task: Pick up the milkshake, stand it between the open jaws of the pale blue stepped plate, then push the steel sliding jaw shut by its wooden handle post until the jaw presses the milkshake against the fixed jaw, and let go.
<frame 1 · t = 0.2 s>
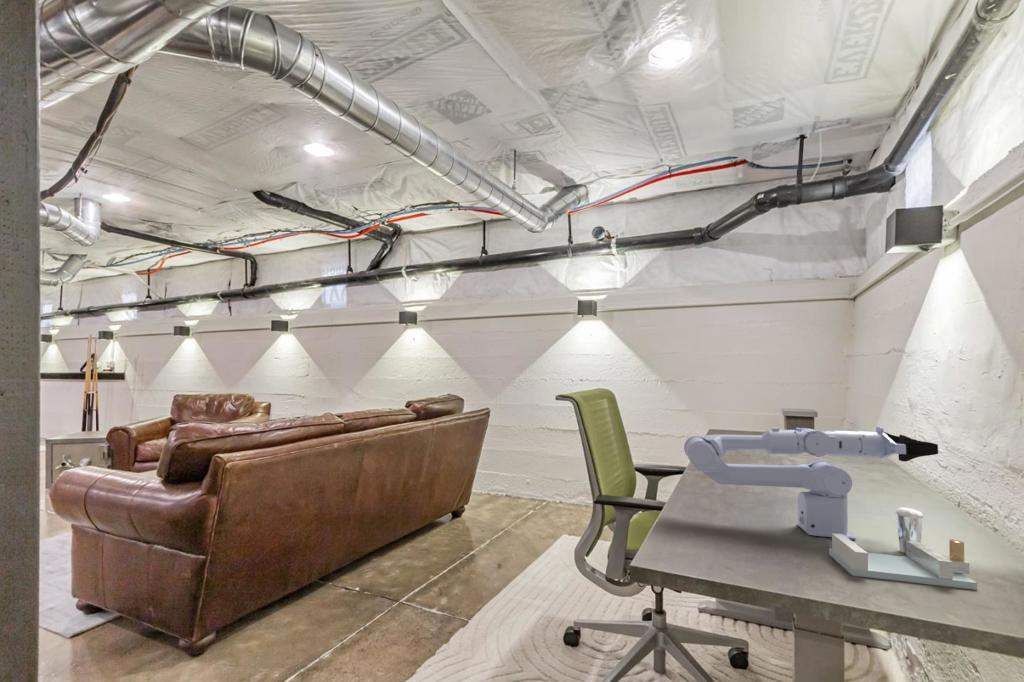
hand: (926, 446, 106), 21 cm above the table, tool horizontal, fingers open, 7 cm apart
milkshake: (912, 554, 98), on the table
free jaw: (942, 554, 88), point 4 cm above the table, slide at 0.0 cm
pale blue stepped plate: (897, 570, 89), on the table
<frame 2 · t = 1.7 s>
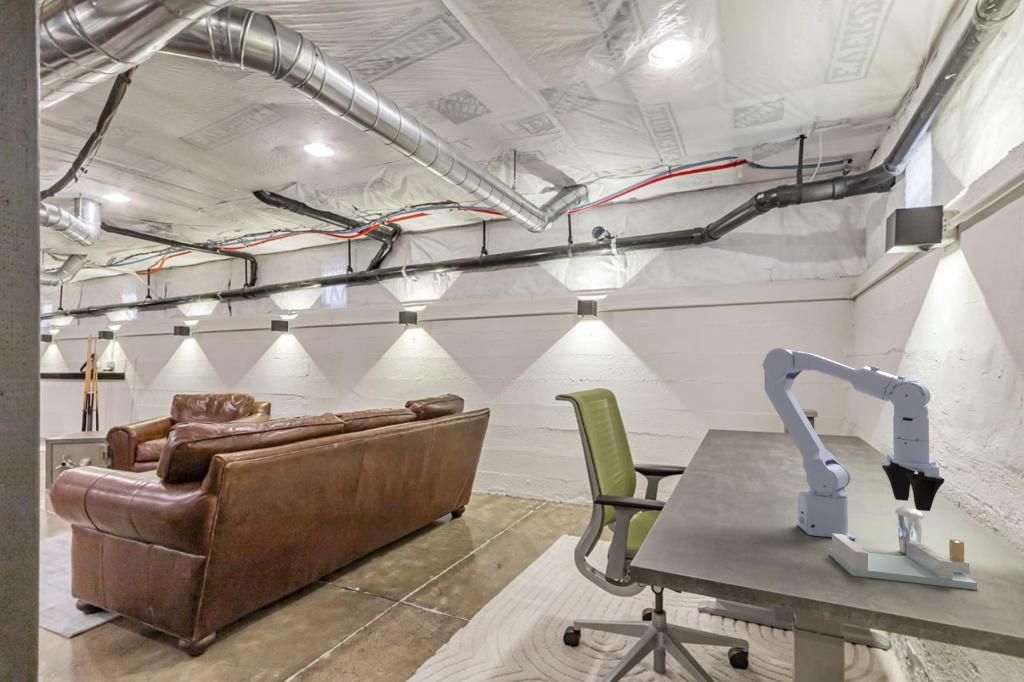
hand: (911, 504, 99), 10 cm above the table, tool pointing down, fingers open, 7 cm apart
nothing on the table moved.
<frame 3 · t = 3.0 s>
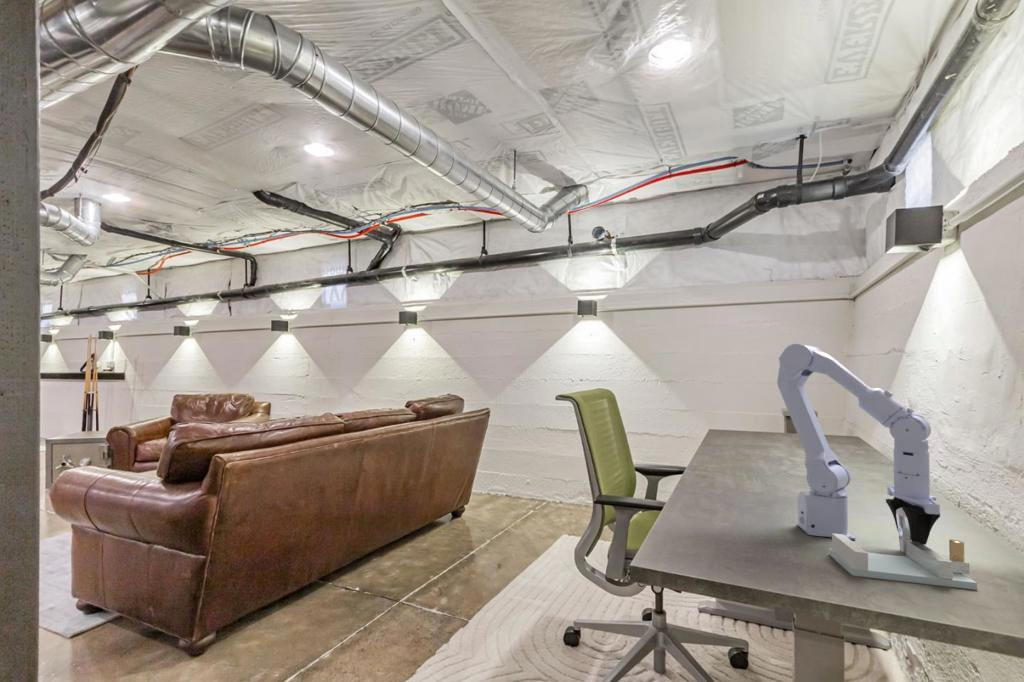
hand: (912, 539, 98), 3 cm above the table, tool pointing down, fingers closed on milkshake, 4 cm apart
milkshake: (912, 554, 98), on the table, touching gripper
everything else where it was.
when the fingers open (6 cm above the table, at t = 6.5 s): milkshake stays where it is, resting on pale blue stepped plate.
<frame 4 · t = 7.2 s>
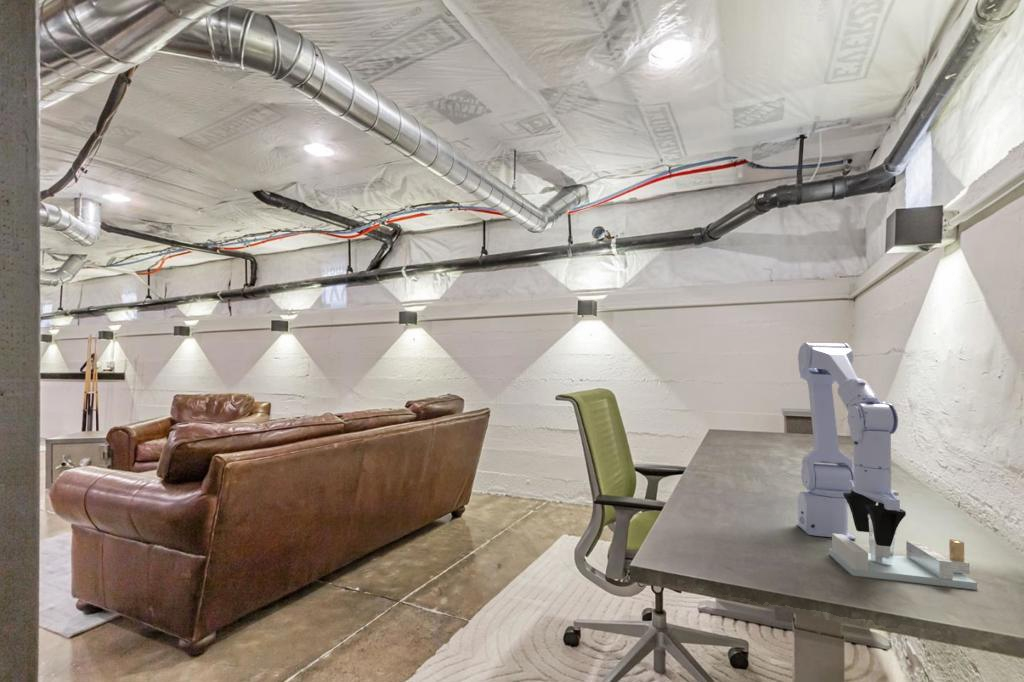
hand: (872, 538, 90), 6 cm above the table, tool pointing down, fingers open, 7 cm apart
milkshake: (883, 563, 90), point 1 cm above the table, touching pale blue stepped plate
everything else where it was.
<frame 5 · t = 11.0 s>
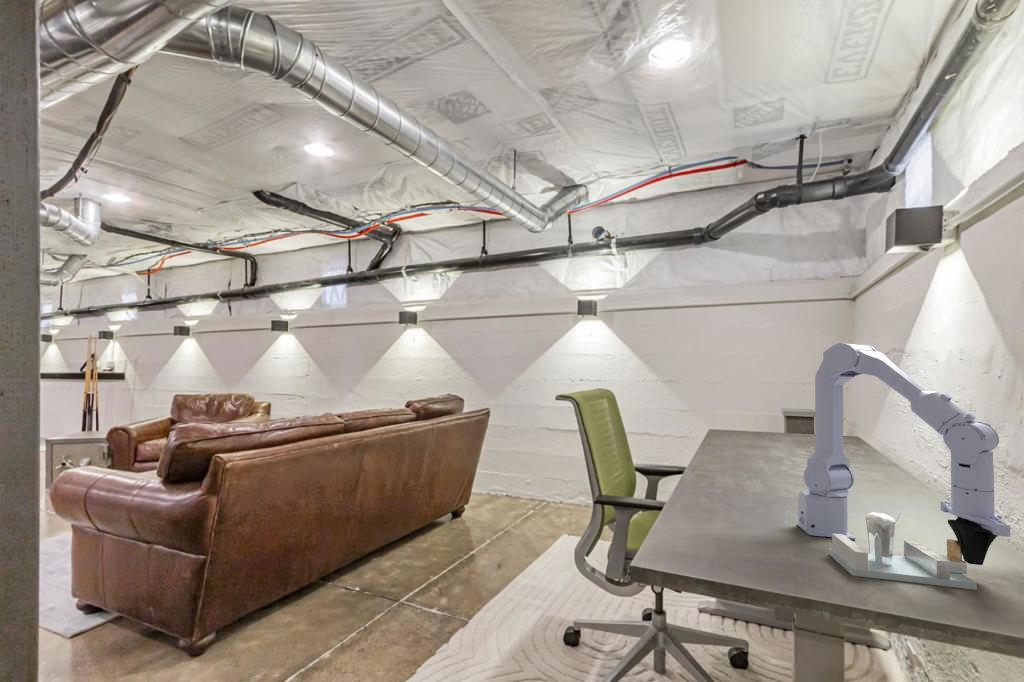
hand: (973, 563, 87), 3 cm above the table, tool pointing down, fingers closed, pressing on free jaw
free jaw: (939, 554, 88), point 4 cm above the table, slide at 0.4 cm, touching gripper
everything else where it was.
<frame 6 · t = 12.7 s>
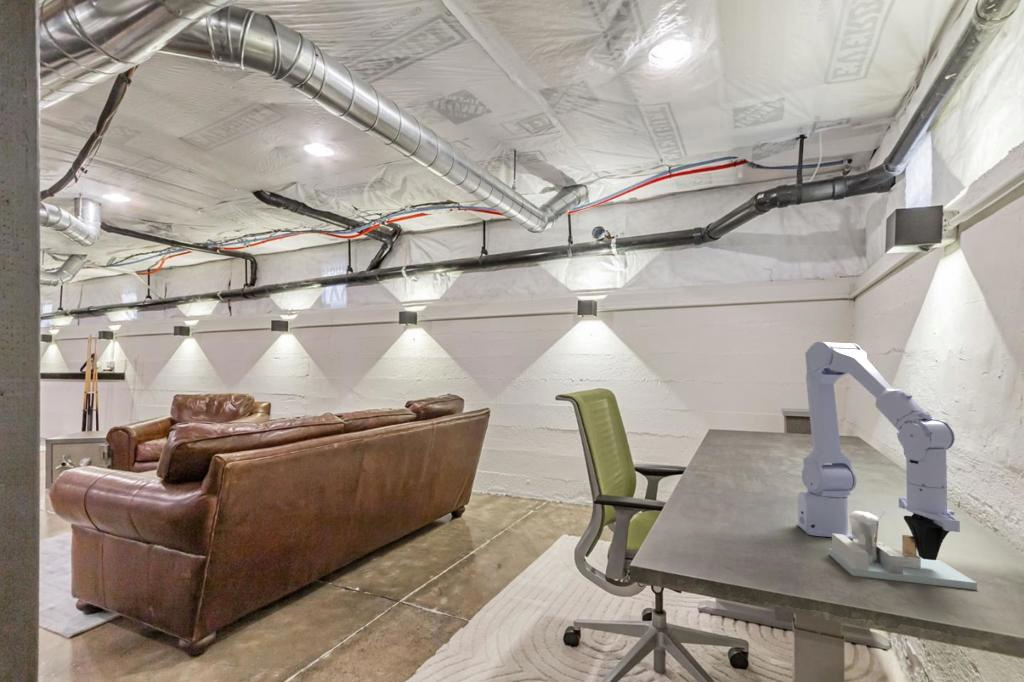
hand: (927, 558, 88), 3 cm above the table, tool pointing down, fingers closed, pressing on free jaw
milkshake: (867, 562, 90), point 1 cm above the table, touching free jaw, pale blue stepped plate
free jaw: (895, 549, 89), point 4 cm above the table, slide at 7.5 cm, touching gripper, milkshake
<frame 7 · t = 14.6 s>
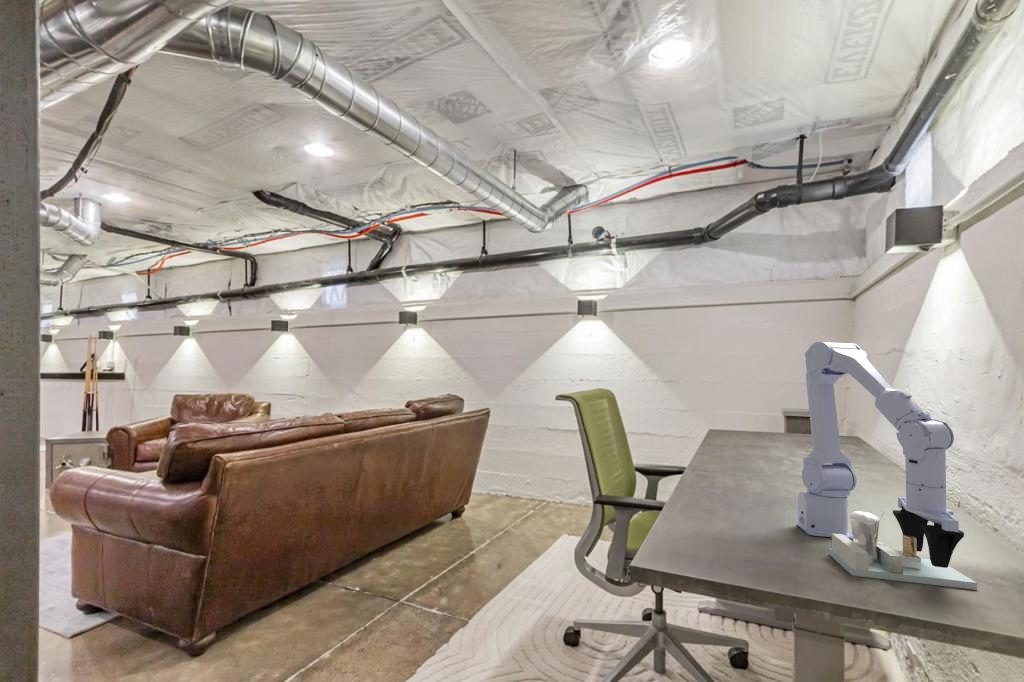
hand: (926, 558, 88), 3 cm above the table, tool pointing down, fingers open, 7 cm apart
milkshake: (867, 562, 90), point 1 cm above the table, touching pale blue stepped plate
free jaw: (895, 549, 89), point 4 cm above the table, slide at 7.5 cm
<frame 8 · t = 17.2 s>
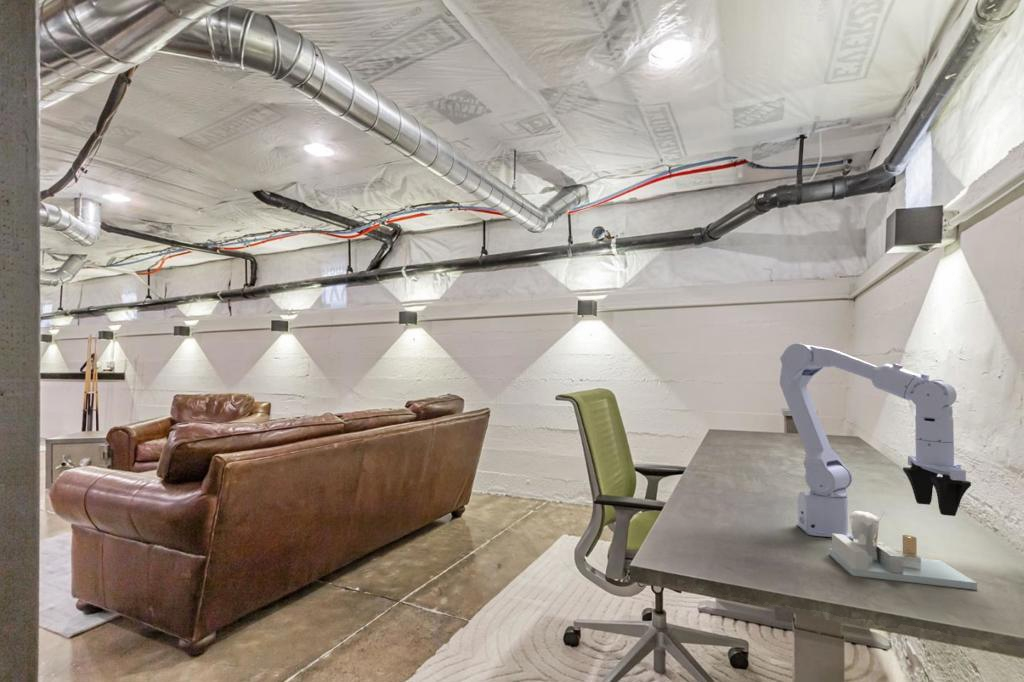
hand: (935, 509, 94), 10 cm above the table, tool pointing down, fingers open, 7 cm apart
nothing on the table moved.
at the end: milkshake 0.2 cm from the target spot on the pale blue stepped plate, point 1.0 cm above the pale blue stepped plate's base; milkshake tilted 0°; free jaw slide at 7.5 cm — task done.
